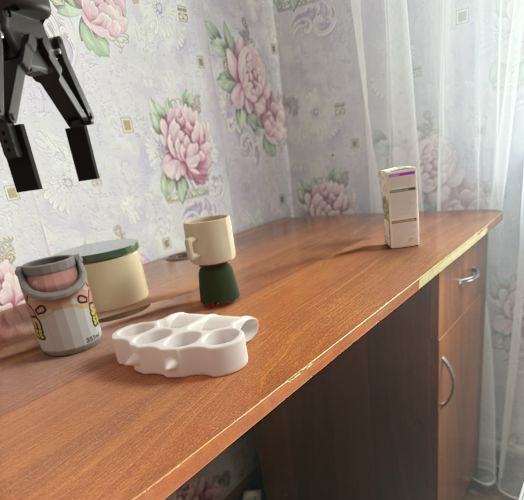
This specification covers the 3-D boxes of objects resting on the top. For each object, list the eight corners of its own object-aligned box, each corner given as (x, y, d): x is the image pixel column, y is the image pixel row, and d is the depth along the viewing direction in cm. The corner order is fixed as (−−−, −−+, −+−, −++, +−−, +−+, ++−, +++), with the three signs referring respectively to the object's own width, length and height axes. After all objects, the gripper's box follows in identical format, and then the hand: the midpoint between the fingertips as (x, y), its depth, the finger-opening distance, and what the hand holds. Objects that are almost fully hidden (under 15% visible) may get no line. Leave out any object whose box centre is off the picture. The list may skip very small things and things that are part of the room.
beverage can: (110, 348, 66) (86, 258, 61) (44, 366, 63) (13, 274, 58) (99, 330, 74) (77, 250, 69) (40, 346, 71) (12, 263, 66)
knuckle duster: (282, 337, 61) (213, 392, 50) (170, 328, 70) (90, 373, 59) (279, 311, 60) (207, 361, 48) (165, 305, 69) (83, 346, 57)
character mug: (223, 291, 85) (209, 213, 80) (258, 292, 81) (246, 211, 76) (181, 312, 76) (163, 227, 72) (218, 315, 73) (202, 225, 68)
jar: (63, 314, 85) (45, 253, 82) (135, 293, 92) (121, 236, 88) (85, 330, 75) (65, 261, 71) (165, 305, 81) (150, 241, 78)
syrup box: (420, 245, 96) (419, 165, 91) (389, 249, 97) (386, 170, 91) (412, 239, 102) (410, 164, 96) (383, 243, 102) (379, 169, 96)
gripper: (-52, -79, 40) (30, 192, 48) (92, -4, 63) (132, 173, 71) (-128, -58, 42) (-37, 201, 50) (40, 8, 65) (84, 179, 72)
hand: (62, 185), depth 60 cm, fingers open, 13 cm apart
